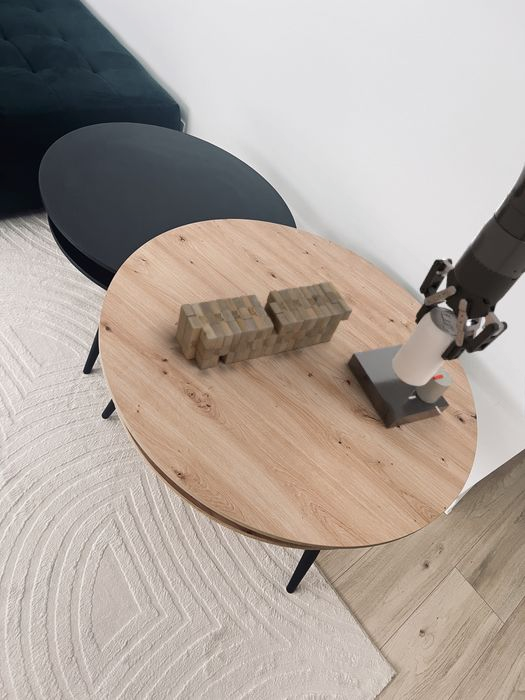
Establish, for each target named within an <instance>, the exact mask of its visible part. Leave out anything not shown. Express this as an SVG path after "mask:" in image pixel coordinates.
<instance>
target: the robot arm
mask: <svg viewBox="0 0 525 700" xmlns="http://www.w3.org/2000/svg"><path fill="white" fill-rule="evenodd" d="M524 273H525V163H524V164H523V166H522V168H521V170H520V173H519V175H518V177H517V178H516V180H515V182H514V184H513V186H512V187H511V189H510V190H509V191H508V192H507V195H506V196H505V197H504V199H503V200H502V201H501V203H500V204H499V206H498V207H497V208H496V210H495V211H494V212H493V214H492V215H491V216H490V217H489V218H488V219H487V220H486V221H485V222H484V224H483V225H482V226H481V228H480V229H479V230H478V231H477V233H476V235H475V236H474V238H472V240H471V242H470V243H469V244H468V246H467V247H466V249H465V250H464V251H463V253H462V255H461V256H460V257H459V259H458V260H457V262H456V263H455V265H454V266H453V260H452V258H450V257H449V258H437V259H435V260H434V261H433V263H432V265H431V266H430V268H429V270H428V272H427V274H426V276H425V278H424V279H423V281H422V283H421V285H420V287H419V292H420V294H421V295H423V297H424V300H423V303H422V305H421V307H420V308H419V309H418V311H417V312H416V315H415V319H414V322H415V324H416V326H417V325H418V323H419V322H420V320H421V319H422V318H423V316H424V315H425V314H427V313H428V312H431V310H432V309H433V308H435V307H440V306H439V305H441V304H443V303H445V304H446V306H447V308H449V309H450V310H452V311H453V312H454V314H455V315H456V317H457V318H458V320H457V325H456V328H457V329H458V332H457V337H456V341H453V342H452V343H451V344H450V346H449V347H448V348H447V349H446V351H445V352H444V353H443V354H442V356H441V357H442V358H443V360H444V361H445V360H446V361H453V360H457V359H459V358H460V357H461V355H462V354H463V353H464V352H467V353H468V354H472V353H475V352H482V351H484V350H486V349H487V348H488V346H490V345H491V344H492V343H493V342H494V341H496V340H497V339H498V338H499V337H500V336H501V335H502V334H503V333H504V332H505V331H506V330H507V329H508V328H509V327H508V323H507V322H506V321H504V320H502V321H501V320H500V319H499V318H498V316H497V315H496V314H495V311H496V307H497V305H498V303H499V301H501V300H502V299H503V298H504V297H505V296H506V295H507V293H508V292H509V291H510V290H511V289H512V288H513V286H514V285H515V284H516V283H517V282H518V280H520V278H521V277H522V276H523V275H524ZM445 277H446V282H445V283H446V284H445V288H444V289H442V290H439V288H440V286H441V285H442V283H443V281H444V279H445ZM438 290H439V291H438ZM483 318H484V319H485V321H484V323H483V325H482V326H481V324H482V320H483ZM468 320H470V321H468ZM480 328H481V329H482V330H481V331H480V332H479V333H478V334H477V331H478V330H479V329H480ZM446 361H445V362H446Z"/></svg>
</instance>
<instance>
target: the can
mask: <svg viewBox="0 0 525 700" xmlns="http://www.w3.org/2000/svg"><path fill="white" fill-rule="evenodd" d="M457 320H458V318H457V317H456V315H455V314H454V312H453V310H452V309H451V308H449V307H445V306H439V307H435V308H433V309H432V310H431V312H428V313H427V314H425V315H424V316H423V318H422V319H421V320H420V322H419V323H418V325H417V324H416V326H415V327H414V328H413V330H412V332H410V334H409V335H408V337H407V338H406V340H405V341H404V343H402V344H403V346H402V347H401V348H400V350H399V351H398V353H397V354H396V356H395V357H394V359H393V361H392V367H393V370H394V372H395V374H396V375H397V377H398V378H399V379H400V380H402V381H403V382H404V383H406V384H409V385H412V386H422V385H425V384H426V383H427V382H428V381H429V380H430V379H431V377H432V376H433V375H434V374H435V373H436V371H437V370H438V369H439V368H442V366H443V364H444V363H445V362H446V361H447V360H445V361H444V360H443V358H442V357H441V356H442V354H443V353H444V352H445V351H446V349H447V348H448V347H449V346H450V344H451V343H452V342H453V341H456V337H457V332H458V329H457V328H456V325H457Z"/></svg>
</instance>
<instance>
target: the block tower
mask: <svg viewBox="0 0 525 700" xmlns="http://www.w3.org/2000/svg"><path fill="white" fill-rule="evenodd" d="M179 311H180V312H179V316H178V322H177V328H176V332H175V339H176V341H177V343H178V345H179V347H181V352H182V353H183V355H184V357H185V359H186V360H192V359H195V361H196V362H197V364H198V366H199V368H200V370H205V369H206V370H207V369H208V368H214V367H217V366H218V363H219V359H220V358H221V359H222V361H223V363H224V364H226V365H227V364H232V363H236V362H240V361H242V362H243V361H246V360H249V359H250V360H251V359H254V358H261V357H266V356H269V355H276V354H278V353H282V352H288V351H291V350H296V349H301V348H305V347H309V346H312V345H313V346H314V345H318V344H319V343H327V342H330V341H331V340H332V338H333V336H334V334H335V333H336V331H337V329H338V327H339V325H340V323H341V322H344V321H348V320H349V318H350V316H351V314H352V312H353V309H352V307H351V306H350V305H349V303H348V302H347V301H346V299H345V298H344V296H343V295H342V294H341V292H340V291H339V290H338V288H337V287H336V286H335V285H334V283H333V282H332V281H326V282H320V283H315V284H312V285H306V286H304V285H303V286H298V287H293V288H291V287H290V288H285V289H280V290H277V289H275V290H271V291H269V292H268V295H267V298H266V303H265V305H264V306H263V305H262V303H261V302H260V300H259V298H258V297H257V295H256V294H249V295H240V296H236V297H228V298H218V299H216V300H208V301H201V302H195V303H191V304H190V303H184V304H181V306H180V310H179Z"/></svg>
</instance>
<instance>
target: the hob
mask: <svg viewBox="0 0 525 700" xmlns="http://www.w3.org/2000/svg"><path fill="white" fill-rule="evenodd" d="M403 344H404V343H401V344H397V345H392V346H385V347H381V348H374V349H369V350H364V351H358V352H354V353H353V354H352V356H350V359H349V360H348V361H347V366H348V367H349V369H350V371H351V372H352V374H353V375H354V377H355V378H356V380H357V382H358V383H359V386H360V387H361V388H362V390H363V392H364V393H365V395H366V396H367V398H368V399H369V401H370V403H371V404H372V406H373V407H374V409H375V411H376V412H377V414H378V416H379V418H380V419H381V421H382V422H383V424H384V426H385V427H386V428H387V430H389V429H392V428H396V427H400V426H403V425H404V426H405V425H407V424H411V423H414V422H419V421H422V420H427V419H429V418H432V417H433V418H434V417H436V415H437V416H440V415H441V414H443V412H444V411H445V410H446V409H447V408H448V407H449V406H450V404H449V402H448V401H447V400H446V398H445V397H444V394H443V395H442V396H441V397H440V398H439V399H438V400H437V402H435V403H432V404H431V403H427V402H424V401H423V400H422V399H420V397H419V396H418V395H417V392H416V389H417V386H412V385H409V384H406V383H404V382H403V381H402V380H400V379H399V378H398V377H397V375H396V374H395V372H394V370H393V367H392V361H393V359H394V357H395V356H396V354H397V353H398V351H399V350H400V348H401V347H402V346H403Z"/></svg>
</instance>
